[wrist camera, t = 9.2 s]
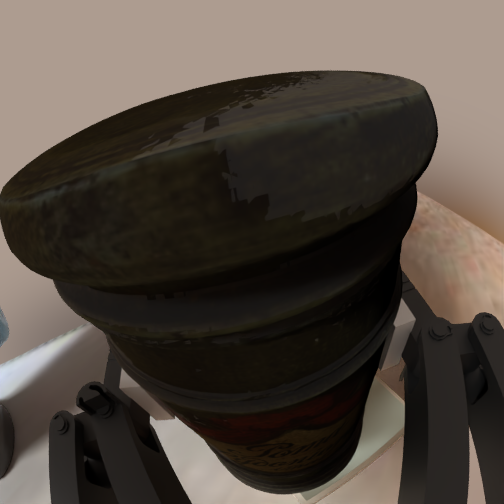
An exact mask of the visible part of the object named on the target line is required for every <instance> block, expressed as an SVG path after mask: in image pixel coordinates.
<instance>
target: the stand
mask: <svg viewBox="0 0 504 504" xmlns="http://www.w3.org/2000/svg"><path fill="white" fill-rule="evenodd" d="M404 422H405V401H403V400H402V399H401V398H400V397H399V396H398V395H397V394H396V393H395V392H394V391H393V390H392V389H391V388H390V387H389V386H388V385H387V384H385V383H384V382H383V381H382V380H381V379H380V378H379V377H378V376H377V375H375V377H374V380H373V383H372V386H371V389H370V392H369V395H368V399H367V402H366V405H365V412H364V417H363V427H362V433H361V437H360V440H359V444H358V447H357V449H356V452H355V454H354V456H353V457H352V459H351V460H350V462H349V463H348V465H347V466H346V467H345V468H344V469H343V470H342V471H341V472H340V473H339V474H338V475H337V476H336V477H335V478H333V479H332V480H330V481H329V482H327V483H326V484H324V485H322V486H320V487H318V488H315V489H312V490H309V491H306V492H302V493H296V494H293V495H294V496H295V498H296V499H297V500H298V502H299V503H300V504H315V503H316V502H318V501H319V500H321V499H323V498H324V497H326V496H327V495H329V494H330V493H332V492H333V491H335V490H336V489H338V488H339V487H341V486H342V485H343V484H345V483H346V482H348V481H349V480H350V479H352V478H353V477H354V476H356V475H357V474H358V473H360V472H361V471H362V470H364V469H365V468H366V467H367V466H369V465H370V464H371V463H372V462H374V461H375V460H376V459H377V458H378V457H380V456H381V455H382V454H383V453H384V452H385V451H387V450H388V449H389V448H390V447H391V446H392V445H393V444H395V443H396V442H397V441H398V440H399V439H400V438H401V437H402V436H403V435H404Z"/></svg>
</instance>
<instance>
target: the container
mask: <svg viewBox="0 0 504 504" xmlns="http://www.w3.org/2000/svg"><path fill="white" fill-rule="evenodd" d="M437 138H438V127H437V119H436V115H435V111H434V108H433V104H432V102H431V100H430V97H429V95H428V93H427V91H426V89H425V87H424V86H422V85H420V84H419V83H417V82H415V81H413V80H410V79H407V78H404V77H400V76H395V75H389V74H383V73H374V72H361V71H301V72H288V73H278V74H269V75H262V76H255V77H248V78H243V79H237V80H231V81H226V82H221V83H217V84H212V85H208V86H204V87H199V88H195V89H192V90H188V91H185V92H181V93H177V94H174V95H170V96H167V97H163V98H160V99H156V100H153V101H150V102H147V103H144V104H141V105H138V106H136V107H133V108H131V109H128V110H125V111H123V112H121V113H118V114H116V115H113V116H111V117H109V118H107V119H104V120H102V121H100V122H98V123H96V124H94V125H91V126H90V127H88V128H86V129H84V130H82V131H80V132H78V133H76V134H74V135H72V136H71V137H69V138H67V139H65V140H64V141H62V142H60V143H58V144H57V145H55V146H53V147H52V148H50V149H48V150H47V151H45V152H44V153H42V154H41V155H40V156H38V157H37V158H36V159H34V160H33V161H31V162H30V163H29V164H27V165H26V166H25V167H24V168H22V169H21V170H20V171H19V172H18V173H17V174H16V175H14V176H13V177H12V178H11V179H10V180H9V181H8V182H7V183H6V185H5V186H4V187H3V189H2V191H1V194H0V220H1V225H2V229H3V232H4V236H5V239H6V241H7V244H8V246H9V248H10V250H11V252H12V253H13V254H14V255H15V256H16V257H17V258H18V259H19V260H20V261H21V263H23V264H24V265H25V266H26V267H28V268H29V269H30V270H32V271H34V272H36V273H38V274H40V275H42V276H44V277H47V278H50V279H53V281H54V284H55V287H56V289H57V291H58V293H59V295H60V296H61V298H62V299H63V300H64V302H65V303H66V304H67V305H68V306H69V307H70V308H71V309H72V310H73V311H74V312H75V313H76V314H78V315H79V316H81V317H82V318H84V319H85V320H87V321H89V322H91V323H92V324H93V325H94V326H96V327H97V328H99V329H100V330H102V331H103V332H104V333H105V335H106V338H107V341H108V344H109V347H110V349H111V351H112V353H113V355H114V357H115V358H116V360H117V362H118V363H119V365H120V366H121V367H122V369H123V370H124V371H125V372H126V373H127V375H128V376H130V377H131V378H132V379H133V380H134V381H135V382H136V383H137V384H139V385H140V386H141V387H142V388H144V389H145V390H147V391H148V392H150V393H151V394H153V395H155V396H156V397H157V398H158V399H159V400H160V401H161V402H162V403H163V404H164V405H165V406H166V407H167V408H168V409H169V410H170V411H171V412H172V413H173V414H174V415H175V416H176V417H177V418H178V419H179V420H181V421H182V422H183V423H184V424H185V425H187V426H188V427H189V428H191V429H192V430H193V431H194V432H196V433H197V434H198V435H199V436H200V437H201V438H203V439H204V440H205V442H206V443H207V445H208V446H209V447H210V449H211V450H212V451H213V452H214V453H215V454H216V456H217V457H218V459H219V460H220V462H221V463H222V464H223V465H224V466H225V467H226V468H227V469H228V471H229V472H230V473H231V474H232V475H234V476H235V477H236V478H237V479H238V480H240V481H241V482H243V483H244V484H246V485H248V486H250V487H252V488H254V489H257V490H260V491H263V492H268V493H273V494H296V493H302V492H306V491H309V490H312V489H315V488H318V487H320V486H322V485H324V484H326V483H327V482H329V481H330V480H332V479H333V478H335V477H336V476H337V475H338V474H339V473H340V472H341V471H342V470H343V469H344V468H345V467H346V466H347V465H348V463H349V462H350V460H351V459H352V457H353V456H354V454H355V452H356V449H357V447H358V444H359V440H360V437H361V433H362V427H363V417H364V412H365V405H366V402H367V399H368V395H369V392H370V389H371V386H372V383H373V380H374V377H375V375H376V372H377V369H378V367H379V362H380V358H381V355H382V351H383V347H384V344H385V340H386V336H387V334H388V333H389V331H390V329H391V327H392V325H393V323H394V321H395V319H396V316H397V313H398V310H399V307H400V302H401V297H402V288H403V281H402V270H401V265H400V253H401V246H402V240H403V238H404V236H405V235H406V233H407V231H408V230H409V228H410V226H411V223H412V220H413V218H414V214H415V211H416V207H417V189H416V181H417V180H418V179H419V178H420V177H421V175H422V174H423V173H424V171H425V170H426V169H427V167H428V165H429V163H430V161H431V159H432V156H433V153H434V150H435V147H436V143H437Z"/></svg>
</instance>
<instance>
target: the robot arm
mask: <svg viewBox="0 0 504 504" xmlns="http://www.w3.org/2000/svg"><path fill="white" fill-rule="evenodd" d="M402 281H403V288H402V297H401V302H400V307H399V310H398V313H397V316H396V319H395V321H394V323H393V325H392V327H391V329H390V331H389V333H388V334H387V336H386V340H385V344H384V347H383V351H382V355H381V358H380V362H379V368H380V371H383V370H386V369H388V368H391V367H393V366H396V365H398V364H399V362H400V359H401V357H402V358H403V360H404V362H405V364H406V365H405V367H404V369H403V371H402V373H401V375H400V380H399V381H402V380H403V378H404V390H405V422H404V447H403V462H402V473H401V482H400V490H399V498H398V504H467V498H468V484H469V427H470V431H471V434H472V438H473V442H474V445H475V449H476V453H477V458H478V462H479V466H480V472H481V476H482V481H483V487H484V494H485V500H486V504H504V329H503V327H502V326H501V324H500V322H499V321H498V319H497V318H496V317H495V316H493V315H492V314H490V313H486V312H484V313H479V314H477V315H476V316H475V318H474V319H473V321H472V323H464V324H451V323H450V322H449V321H447V320H446V319H444V318H440V317H436V315H435V314H434V313H433V312H432V310H431V309H430V307H429V306H428V304H427V303H426V302H425V300H424V299H423V297H422V296H421V295H420V293H419V292H418V291H417V289H415V287H414V285H413V284H412V283H411V282H410V280H409V279H408V277H407V276H406V275H405V273H404V272H403V271H402ZM8 335H9V328H8V323H7V321H6V318H5V316H4V314H3V312H2V310H1V308H0V347H1V346H2V345H3V343H4V342H5V341H6V340H7V338H8ZM76 405H77V406H78V407H79V408H81V409H82V410H83V411H85V412H82V413H80V414H77V415H72V414H71V413H69V412H68V411H60V412H57V413H56V414H55V415H54V416H53V418H52V420H51V422H50V429H49V478H50V493H51V504H192V503H191V501H190V499H189V498H188V496H187V494H186V492H185V491H184V489H183V487H182V485H181V483H180V481H179V480H178V478H177V476H176V474H175V472H174V470H173V468H172V466H171V464H170V462H169V460H168V458H167V456H166V454H165V452H164V449H163V447H162V445H161V443H160V441H159V438H158V436H157V434H156V432H155V429H154V428H153V427H152V425H151V424H150V416H152V417H153V418H154V419H155V420H169V419H175V415H174V414H173V413H172V412H171V411H170V410H169V409H168V408H167V407H166V406H165V405H164V404H163V403H162V402H161V401H160V400H159V399H158V398H157V397H156V396H155V395H153V394H151V393H150V392H148V391H147V390H145V389H144V388H142V387H141V386H140V385H139V384H137V383H136V382H135V381H134V380H133V379H132V378H131V377H130V376H128V375H127V373H126V372H125V371H124V370H123V369H122V367H121V366H120V365H119V363H118V362H117V360H116V358H115V357H114V355H113V353H112V351H111V349H110V353H109V356H108V362H107V367H106V373H105V379H104V385H103V384H101V383H100V382H90V383H88V384H86V385H85V386H83V387H82V389H81V390H80V391H79V393H78V396H77V398H76ZM13 446H14V429H13V423H12V420H11V417H10V415H9V413H8V411H7V410H6V408H5V407H4V406H2V405H1V404H0V478H1V477H2V476H3V474H4V473H5V471H6V470H7V468H8V466H9V463H10V460H11V457H12V453H13Z"/></svg>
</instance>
